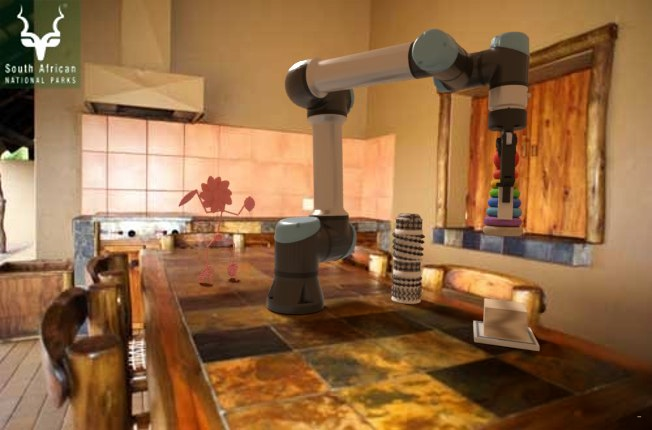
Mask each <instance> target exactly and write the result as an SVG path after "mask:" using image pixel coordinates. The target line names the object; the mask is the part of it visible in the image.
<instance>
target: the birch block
mask: <svg viewBox="0 0 652 430" xmlns="http://www.w3.org/2000/svg"><path fill="white" fill-rule="evenodd" d="M528 313H529V312H528V310H527V307H526V305H525V303H524V302H522V301H521V302H520V301H511V300H503V299H495V298H486V297H485V298H484V299H483V321H482V322H483V331H484V335H486V336H493V337H500V338H507V339H514V340H521V341H526V333H527V327H528V315H529V314H528Z"/></svg>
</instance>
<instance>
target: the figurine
mask: <svg viewBox="0 0 652 430" xmlns="http://www.w3.org/2000/svg"><path fill="white" fill-rule="evenodd" d="M200 187H201V192H199V191H198V189H197V188H195V189H194V190H191V191H189V192H188V193H186V194H185V195H184V196H183V197H182V198H181V200H180V202H179V204H178V207H179V208H180V207H182V206H184V205H186V204H187V203H189V202H190V201H191V200H192V199H194V197H195V195H197V197H198V199H199V201H200V203H201V206H202V208H203V210H204V212H205V214H216V213H218V212H220V215H219V221H218V227H217V231H216V233H215V234H214V237H213V239H212V240H211V241H210V242H209V243H208V245H206V267H205V268H204V269H203V270H202V272H201V273H200V275H199V276H200V277H199V280H198V281H199V283H201V282H202V281H203V280H204V279H205V278H206V277H207V276H206V275H209V281H210V285H211V284H214V283H213V278H212V274H211V268H212V266H211V264H209V250H208V249H209V246H210V245H212V243H213V242H214V241H216V242H221V241H222V240H223V241H226V242H228V243H230V244H232V245H233V249H232V250H233V251H232V261H231V263H230V264H229V265H228V266H227V268H226V272H227V275H228V276H230V277H232V278H233V277H234V278H235V282H237V281H238V276H237V274H236V273H237V272H238V270H239V266H238V264H237V263H236V262H235V261H234V258H235V249H236V244H235V242H232V241H229V240H228V239H226V238H224V236H223V234H222V233H220V232H219V231H220V228H221V227H220V226H221V223H222V219H223V218H222V217H223V213H227V214H231V215H233V216H234V215H235V216H236V217H239V215H240V214H241V213H242V211H243V210H244V208H245V210H247V211H248V212H249V213H250V212H252V211H253V209H254V208H255V205H256V201H255V199H254V198H253V197H252V196H250V195H248V197H246V198H245V199H244V200H243V205H242V207H241V208H240V210H239V211H238V212H237V213H235V212H231V211H229V210H225V209H226V205H227V206H232V204H233V200H232V197H231V196H232V194H233V192H232V190H231V189H229V187H230V181H229V180H225V179H224V180H222V177H221V176H216V177H215V178H214V177H213V175H209V176H208V178H207V181H206V183H205V182H202V183H201V184H200ZM208 208H210V210H209V211H208V210H207V209H208ZM251 279H253V277H252V276H251Z"/></svg>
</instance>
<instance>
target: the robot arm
mask: <svg viewBox="0 0 652 430" xmlns="http://www.w3.org/2000/svg"><path fill="white" fill-rule="evenodd" d="M530 61H531V54H530V38H529V36H528V35H527V34H526V33H525V32H522V31H508V32H503V33H500V34H499V35H496V36H494V37H493V38H492V39H491V42H490V45H489V48H488V49H487V48H486V49H483V50H480V51H474V52H468V51H467V50H466V49H464V47H462V46H461V45H460V44H459V43H458V42H457V41H456V39H455V38H454V37H453V36H452V35H451V34H449V33H447V32H445V31H443V30H442V29H439V28H430V29H427V30H424V32H423V33H421V34H420V35H419V36H417V38H416V39H415V40H414V41H409V42H405V43H400V44H396V45H391V46H386V47H381V48H376V49H371V50H367V51H363V52H357V53H353V54H347V55H343V56H339V57H333V58H329V59H324V60H323V58H320V57H312V58H308V59H304V60H301V61H299V62H296V63H294V64H293V65H292V66H291V67H290V68H289V69H288V71H287V72H286V75H285V78H284V90H285V93H286V96H287V97H288V98H289V100H290V101H291V102H292V103H293V104H294V105H295V106H297V107H300V108H302V109H306V121H307V122H308V124H309V125H311V126H312V167H313V168H312V171H313V173H312V175H313V177H312V178H313V209H312V210H311V212H310V213H309V214H308V216H297V217H296V216H295V217H285V218H283V219H281V220H279V221H278V222H277V223H276V225H275V228H274V229H275V231H274V237H273V239H274V261H273V262H274V263H273V264H274V265H273V267H274V268H273V279H272V282H271V285H270V287H269V291H268V293H267V297H266V308H267V310H270V311H272V312H274V313H279V314H285V315H305V314H306V315H307V314H312V313H317V312H318V313H319V312H320V311H322V310H323V309H324V308H325V297H324V294H323V293H324V292H323V290H322V289H323V288H322V286H321V283H320V280H319V279H320V278H319V272H320V271H319V268H320V264H321V263H322V264H323V263H327V262H337V261H340V260H342V259H345V258H347V257H348V256H350V255H351V254H352V253H353V252H354V249H355V247H356V245H357V231H356V228H355V227H354V226H353V224H352V223H351V222H350V215H349V213H348V212H347V210H345V208H344V171H343V169H344V165H343V164H344V161H343V157H344V156H343V126H344V124H345V123H346V122H347V121H348V114H349V113H350V112H351V109H352V108H353V107H354V104H355V92H354V90H355V89H358V88H360V89H361V88H367V87H373V86H378V85H379V86H380V85H386V84H392V83H399V82H405V81H412V80H419V79H427V78H432V80H433V85H434V87H435V89H436V90H437V92H439V93H455V92H459V91H465V90H471V89H476V88H482V87H489V88H488V89H489V90H488V105H487V110H488V111H490V112H488V114H487V115H488V117H487V129H488V130H489V131H490V132H499V137H496V139H495V147H496V151H495V153H496V152H497V151H498V157H499V158H500V169H498V168H497V167H496V170H500V183H496V187H499V194H498V219H510V220H512V215H513V190H514V187H513V186H514V183H515V180H516V179H515V170H516V167H515V155H516V151H517V144H518V140H519V139H518V134H517V133H516V132H517V131H518V132H519V131H521V130H524V129H526V128H527V126H528V125H527V124H528V111H527V107H528V99H530V98H531V97H532V94H531V93H530V92H529V93H528V91H529V89H528V88H529V76H530ZM515 131H516V132H515Z"/></svg>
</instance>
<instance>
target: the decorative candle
mask: <svg viewBox="0 0 652 430" xmlns="http://www.w3.org/2000/svg"><path fill="white" fill-rule="evenodd" d="M394 219H395V229H394V232H393V233H392V234H391V235H392V236H393V237H394V239H392V243H393V245H392V249H393V250H394V251H392V256H393V258H392V260H394V261H393V262H394V263H393V273H392V275H391V277H392V279H393V280H391V283H392V284H393V285H392V286H391V293H390V294H391V295H392V296H391V299H390V300H391V301H393V302H394V303H400V304H405V305H407V304H408V305H414V304H415V305H416V304H419V303H421V301H422V300H421V297H422V288H421V287H420V286H422V279H423V277H422V270H421V268H422V266H421V265H422V262H423V258H421V257H423V256H424V253H423V252H422V251H424V250H425V249H424V247H423V246H422V245H424V244H425V243H426V242H425V240H423V239H425V237H426V236H425V235H424V234H423V231H424V229H423V220H424V218H422V217H421V215H420V214H419V213H410V212H409V213H407V212H405V213H404V212H402V213H399V214H398V215H397V217H395V218H394Z"/></svg>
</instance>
